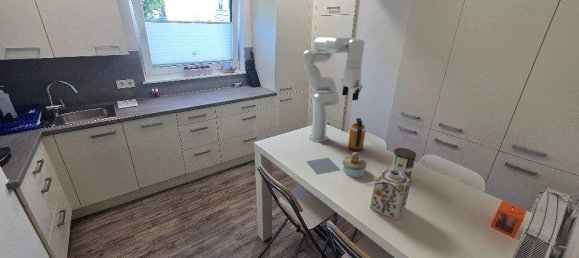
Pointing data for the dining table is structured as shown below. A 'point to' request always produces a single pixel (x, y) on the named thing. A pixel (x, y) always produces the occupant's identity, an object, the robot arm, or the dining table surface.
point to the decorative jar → (390, 193)
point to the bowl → (353, 172)
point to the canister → (357, 136)
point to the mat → (322, 166)
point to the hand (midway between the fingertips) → (349, 97)
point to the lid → (354, 162)
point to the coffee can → (403, 161)
